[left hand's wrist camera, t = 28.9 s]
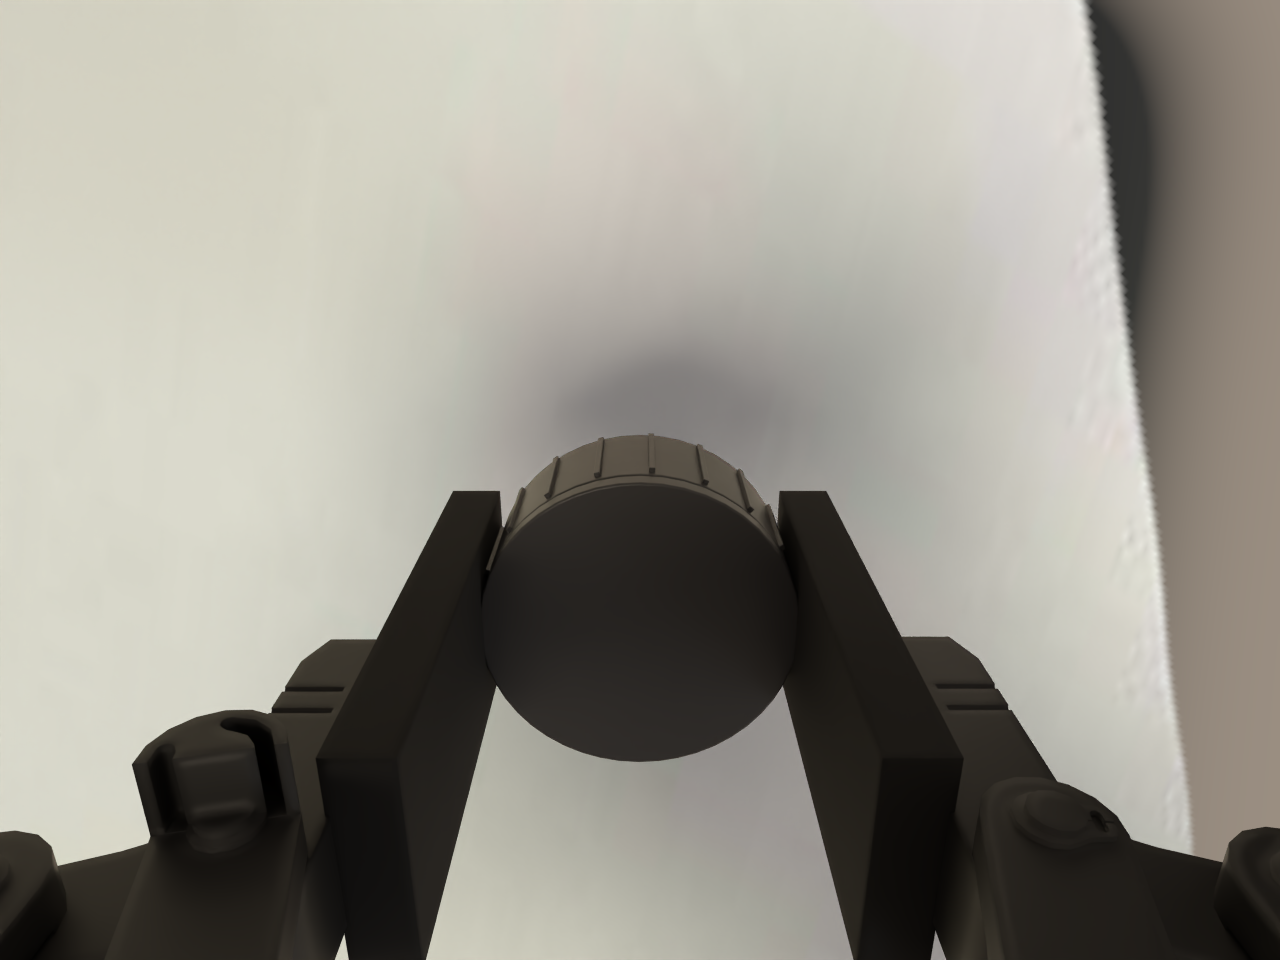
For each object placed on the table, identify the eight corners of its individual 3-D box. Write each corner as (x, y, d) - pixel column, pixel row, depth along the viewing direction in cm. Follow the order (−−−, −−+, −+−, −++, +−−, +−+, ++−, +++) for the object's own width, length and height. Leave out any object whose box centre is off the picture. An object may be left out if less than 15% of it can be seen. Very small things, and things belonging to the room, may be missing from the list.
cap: (457, 470, 14) (428, 524, 12) (749, 397, 14) (767, 442, 12) (544, 710, 16) (530, 791, 14) (806, 653, 15) (831, 727, 13)
